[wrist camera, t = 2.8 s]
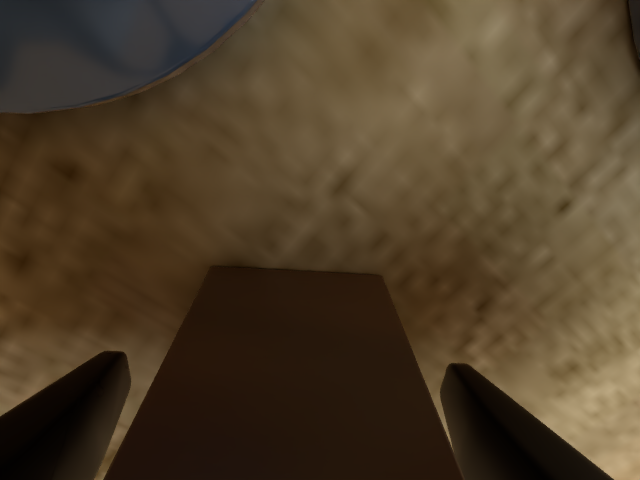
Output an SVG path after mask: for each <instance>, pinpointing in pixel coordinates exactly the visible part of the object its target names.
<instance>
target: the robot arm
mask: <svg viewBox="0 0 640 480" xmlns="http://www.w3.org/2000/svg"><path fill="white" fill-rule="evenodd" d="M130 386H131V377H130V371H129V366H128V360H127V356H126V354H125V353H124V352H122V351H104V352H101V353H100V354H98V355H96V356H95V357H93V358H92V359H90V360H88V361H87V362H85V363H84V364H82V365H81V366H79V367H77V368H76V369H74V370H73V371H71V372H70V373H68V374H66V375H65V376H63V377H62V378H60V379H59V380H57V381H55V382H54V383H52V384H51V385H49V386H47V387H46V388H44V389H43V390H41V391H40V392H38V393H36V394H35V395H33V396H32V397H30V398H29V399H27V400H25V401H24V402H22V403H21V404H19V405H17V406H16V407H14V408H13V409H11V410H10V411H8V412H6V413H5V414H3V415H2V416H0V480H94V478H95V476H96V474H97V472H98V470H99V468H100V466H101V463H102V461H103V459H104V456H105V454H106V451H107V448H108V446H109V443H110V441H111V438H112V435H113V433H114V430H115V427H116V425H117V422H118V420H119V417H120V414H121V412H122V409H123V406H124V404H125V401H126V398H127V396H128V393H129V390H130ZM440 398H441V403H442V407H443V411H444V414H445V418H446V422H447V426H448V430H449V434H450V438H451V442H452V446H453V450H454V454H455V457H456V459H457V462H458V464H459V466H460V469H461V471H462V474H463V476H464V479H465V480H614V479H613V478H611V477H610V476H609V475H608V474H606V473H605V472H604V471H603V470H601V469H600V468H599V467H597V466H596V465H595V464H594V463H592V462H591V461H590V460H589V459H587V458H586V457H585V456H584V455H582V454H581V453H580V452H579V451H577V450H576V449H575V448H573V447H572V446H571V445H570V444H568V443H567V442H566V441H565V440H563V439H562V438H561V437H560V436H558V435H557V434H556V433H555V432H553V431H552V430H551V429H549V428H548V427H547V426H546V425H544V424H543V423H542V422H541V421H539V420H538V419H537V418H536V417H534V416H533V415H532V414H531V413H529V412H528V411H527V410H525V409H524V408H523V407H522V406H520V405H519V404H518V403H517V402H515V401H514V400H513V399H512V398H510V397H509V396H508V395H507V394H505V393H504V392H503V391H501V390H500V389H499V388H498V387H496V386H495V385H494V384H493V383H491V382H490V381H489V380H488V379H486V378H485V377H484V376H483V375H481V374H480V373H479V372H477V371H476V370H475V369H474V368H472V367H471V366H470V365H468V364H465V363H451V364H449V365H448V367H447V369H446V372H445V375H444V379H443V382H442V385H441V389H440Z"/></svg>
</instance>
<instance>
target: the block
mask: <svg viewBox="0 0 640 480" xmlns="http://www.w3.org/2000/svg"><path fill="white" fill-rule="evenodd" d="M103 480H465V479H464V476H463V474H462V471H461V469H460V466H459V464H458V462H457V459H456V457H455V454H454V452H453V449H452V447H451V444H450V442H449V439H448V437H447V435H446V432H445V430H444V427H443V425H442V422H441V420H440V417H439V415H438V412H437V410H436V407H435V405H434V403H433V400H432V398H431V395H430V393H429V390H428V388H427V385H426V383H425V380H424V378H423V376H422V373H421V371H420V368H419V366H418V363H417V361H416V358H415V356H414V353H413V351H412V349H411V346H410V344H409V341H408V339H407V336H406V334H405V331H404V329H403V326H402V324H401V322H400V319H399V317H398V314H397V312H396V309H395V307H394V304H393V302H392V299H391V297H390V294H389V292H388V290H387V287H386V285H385V282H384V280H383V277H382V276H380V275H366V274H347V273H329V272H310V271H291V270H272V269H254V268H235V267H216V266H212V267H210V269H209V271H208V273H207V275H206V277H205V279H204V281H203V283H202V285H201V287H200V289H199V291H198V293H197V295H196V297H195V299H194V301H193V303H192V305H191V307H190V309H189V311H188V313H187V315H186V317H185V319H184V321H183V323H182V325H181V327H180V328H179V330H178V332H177V334H176V336H175V338H174V340H173V342H172V344H171V346H170V348H169V350H168V352H167V354H166V356H165V358H164V360H163V362H162V364H161V366H160V368H159V370H158V372H157V374H156V376H155V378H154V380H153V382H152V384H151V386H150V388H149V390H148V392H147V394H146V396H145V398H144V400H143V402H142V404H141V406H140V408H139V410H138V412H137V414H136V416H135V418H134V420H133V422H132V424H131V426H130V428H129V430H128V432H127V434H126V436H125V438H124V440H123V441H122V443H121V445H120V447H119V449H118V451H117V453H116V455H115V457H114V459H113V461H112V463H111V465H110V467H109V469H108V471H107V473H106V475H105V477H104V479H103Z"/></svg>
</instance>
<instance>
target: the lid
mask: <svg viewBox="0 0 640 480" xmlns="http://www.w3.org/2000/svg"><path fill="white" fill-rule="evenodd" d="M264 1H265V0H0V113H17V114H35V113H44V112H53V111H61V110H69V109H77V108H85V107H93V106H97V105H101V104H104V103H108V102H111V101H115V100H119V99H122V98H126V97H129V96H133V95H136V94H138V93H141V92H143V91H145V90H147V89H149V88H152V87H154V86H156V85H158V84H160V83H163V82H165V81H167V80H169V79H171V78H174V77H176V76H177V75H179V74H180V73H182V72H183V71H185V70H186V69H188V68H189V67H191V66H192V65H194V64H195V63H197V62H198V61H200V60H201V59H203V58H205V57H206V56H208V55H209V54H211V53H212V52H214V51H215V50H216V49H217V48H218V47H219V46H220V45H221V44H222V43H224V42H225V41H226V40H227V39H228V38H229V37H230V36H231V35H232V34H233V33H235V32H236V31H237V30H238V29H239V28H240V27H241V26H242V25H243V24H245V23H246V22H247V21H248V20H249V19H250V18H251V17H252V15H253V14H254V13H255V12H256V11H257V9H258V8H259V7H260V6H261V5H262V3H263V2H264Z"/></svg>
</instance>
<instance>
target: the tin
mask: <svg viewBox="0 0 640 480" xmlns="http://www.w3.org/2000/svg"><path fill="white" fill-rule="evenodd" d="M628 2H629V10H630V17H631V24H632V32H633V39H634V43H635V46H636V50H637V53H638V57H639V60H640V0H628Z"/></svg>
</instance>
